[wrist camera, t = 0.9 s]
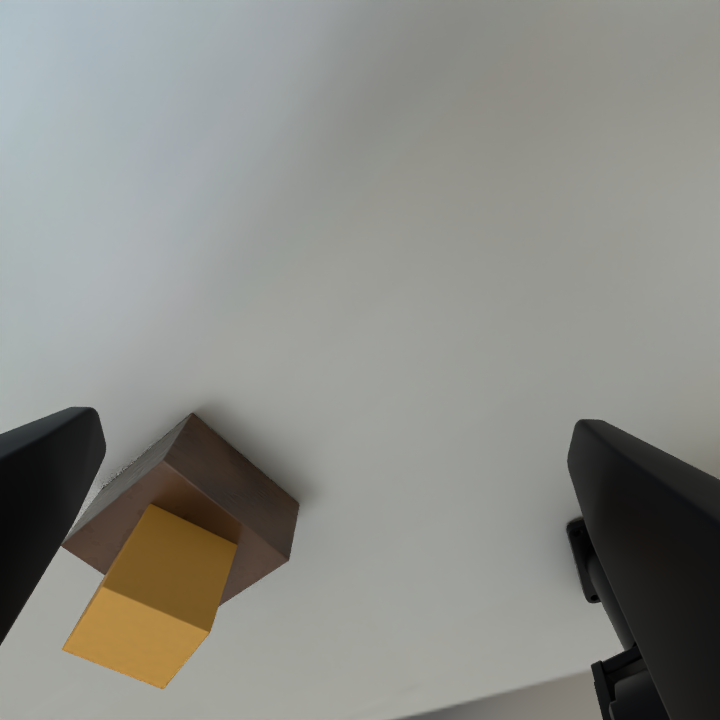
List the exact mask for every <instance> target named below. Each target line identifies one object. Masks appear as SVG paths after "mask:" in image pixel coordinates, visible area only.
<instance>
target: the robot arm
mask: <svg viewBox="0 0 720 720" xmlns="http://www.w3.org/2000/svg"><path fill="white" fill-rule="evenodd" d="M105 453H106V442H105V438H104V434H103V430H102V426H101V422H100V418H99V415H98V412H97V411H96V410H95V409H94V408H91V407H70V408H67V409H64V410H62V411H59V412H57V413H54V414H52V415H49V416H46V417H44V418H41V419H39V420H36V421H33V422H31V423H28V424H26V425H23V426H20V427H18V428H15V429H13V430H10V431H8V432H5V433H2V434H0V645H1V644H2V642H3V640H4V639H5V637H6V635H7V634H8V632H9V630H10V629H11V627H12V625H13V624H14V622H15V620H16V619H17V617H18V615H19V614H20V612H21V610H22V609H23V607H24V605H25V604H26V602H27V600H28V599H29V597H30V595H31V594H32V592H33V590H34V589H35V587H36V585H37V584H38V582H39V580H40V579H41V577H42V575H43V574H44V572H45V570H46V569H47V567H48V565H49V564H50V562H51V561H52V559H53V557H54V556H55V554H56V552H57V551H58V549H59V547H60V546H61V544H62V542H63V541H64V539H65V537H66V535H67V534H68V532H69V530H70V528H71V527H72V525H73V523H74V521H75V519H76V517H77V515H78V513H79V511H80V508H81V506H82V504H83V502H84V500H85V498H86V496H87V493H88V491H89V489H90V487H91V485H92V483H93V481H94V478H95V476H96V474H97V472H98V470H99V468H100V465H101V463H102V461H103V459H104V456H105ZM567 463H568V469H569V473H570V476H571V479H572V482H573V486H574V489H575V492H576V495H577V498H578V502H579V505H580V508H581V511H582V514H583V518H584V520H580V521H576V522H573V523H570V524H569V525H568V526H567V528H566V531H567V534H568V538H569V542H570V545H571V549H572V553H573V556H574V560H575V564H576V567H577V571H578V575H579V578H580V582H581V585H582V589H583V593H584V595H585V598H586V600H587V601H588V602H589V603H598V602H602V604H603V607H604V609H605V611H606V613H607V615H608V617H609V619H610V621H611V623H612V625H613V627H614V629H615V631H616V633H617V636H618V638H619V640H620V642H621V644H622V646H623V648H624V650H625V651H624V652H622V653H620V654H618V655H615V656H613V657H611V658H609V659H607V660H605V661H603V662H602V661H601V660H600V661H598V662H596V663H594V664H592V665H591V668H592V672H593V676H594V680H595V682H594V685H595V689H596V693H597V697H598V701H599V705H600V709H601V713H602V717H603V720H720V480H719V479H717V478H715V477H713V476H711V475H709V474H707V473H705V472H703V471H701V470H699V469H697V468H695V467H693V466H691V465H689V464H687V463H686V462H684V461H682V460H680V459H678V458H676V457H674V456H672V455H670V454H668V453H666V452H664V451H662V450H660V449H658V448H656V447H654V446H652V445H650V444H648V443H646V442H644V441H642V440H640V439H638V438H636V437H634V436H632V435H630V434H628V433H626V432H624V431H623V430H621V429H619V428H617V427H615V426H613V425H611V424H609V423H607V422H605V421H603V420H594V419H581V420H579V421H578V422H577V423H576V425H575V427H574V431H573V436H572V440H571V444H570V448H569V453H568V459H567ZM577 530H578V531H577ZM575 531H576V532H575Z"/></svg>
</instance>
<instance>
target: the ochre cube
mask: <svg viewBox="0 0 720 720" xmlns="http://www.w3.org/2000/svg"><path fill="white" fill-rule="evenodd" d="M236 549H237V545H236V544H234V543H232V542H230V541H228V540H226V539H224V538H222V537H220V536H218V535H215V534H213V533H211V532H209V531H207V530H205V529H203V528H201V527H199V526H197V525H195V524H192V523H190V522H188V521H186V520H184V519H182V518H180V517H178V516H176V515H174V514H172V513H170V512H167V511H165V510H163V509H161V508H159V507H157V506H155V505H153V504H149V506H148V507H147V509H146V510H145V512H144V514H143V515H142V517H141V518H140V520H139V522H138V523H137V525H136V526H135V528H134V529H133V531H132V533H131V534H130V536H129V537H128V539H127V541H126V542H125V544H124V545H123V547H122V549H121V550H120V552H119V553H118V555H117V557H116V558H115V560H114V561H113V563H112V565H111V566H110V568H109V570H108V571H107V573H106V575H105V577H104V578H103V580H102V582H101V583H100V585H99V587H98V588H97V590H96V592H95V594H94V595H93V597H92V599H91V600H90V602H89V604H88V605H87V607H86V609H85V611H84V612H83V614H82V616H81V617H80V619H79V621H78V622H77V624H76V626H75V628H74V629H73V631H72V633H71V634H70V636H69V638H68V639H67V641H66V643H65V644H64V646H63V648H62V650H63V651H66V652H68V653H71V654H74V655H76V656H79V657H81V658H84V659H86V660H89V661H92V662H94V663H97V664H99V665H102V666H104V667H107V668H109V669H112V670H115V671H117V672H120V673H122V674H125V675H127V676H130V677H133V678H135V679H138V680H140V681H143V682H145V683H148V684H151V685H153V686H156V687H158V688H161V689H164V688H165V687H166V685H167V684H168V683H169V682H170V681H171V679H172V678H173V677H174V676H175V674H176V673H177V672H178V671H179V670H180V668H181V667H182V666H183V665H184V664H185V662H186V661H187V660H188V659H189V657H190V656H191V655H192V654H193V653H194V651H195V650H196V649H197V648H198V647H199V645H200V644H201V643H202V642H203V640H204V639H205V638H206V637H207V636H208V634H209V633H210V631H211V628H212V625H213V622H214V618H215V615H216V612H217V609H218V606H219V603H220V599H221V596H222V593H223V590H224V587H225V584H226V580H227V577H228V574H229V571H230V568H231V565H232V561H233V558H234V555H235V552H236Z"/></svg>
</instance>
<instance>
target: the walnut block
mask: <svg viewBox="0 0 720 720" xmlns="http://www.w3.org/2000/svg"><path fill="white" fill-rule="evenodd" d="M149 504H153V505H155V506H157V507H159V508H161V509H163V510H165V511H167V512H170V513H172V514H174V515H176V516H178V517H180V518H182V519H184V520H186V521H188V522H190V523H192V524H195V525H197V526H199V527H201V528H203V529H205V530H207V531H209V532H211V533H213V534H215V535H218V536H220V537H222V538H224V539H226V540H228V541H230V542H232V543H234V544H236V545H237V549H236V552H235V555H234V558H233V561H232V565H231V568H230V571H229V574H228V577H227V580H226V584H225V587H224V590H223V593H222V596H221V599H220V603H219V606H220V605H222V604H223V603H225V602H226V601H228V600H229V599H231V598H232V597H234V596H235V595H237V594H238V593H240V592H242V591H243V590H245V589H246V588H248V587H249V586H251V585H252V584H254V583H255V582H257V581H258V580H260V579H261V578H263V577H264V576H266V575H267V574H269V573H270V572H272V571H274V570H275V569H277V568H278V567H280V566H281V565H283V564H284V563H286V562H287V561H289V558H290V553H291V547H292V542H293V537H294V531H295V526H296V521H297V515H298V510H299V504H298V503H297V502H296V501H295V500H294V499H292V498H291V497H290V496H289V495H288V494H287V493H285V492H284V491H283V490H282V489H281V488H280V487H278V486H277V485H276V484H275V483H274V482H272V481H271V480H270V479H269V478H268V477H267V476H265V475H264V474H263V473H262V472H261V471H260V470H258V469H257V468H256V467H255V466H254V465H253V464H251V463H250V462H249V461H248V460H247V459H245V458H244V457H243V456H242V455H241V454H240V453H238V452H237V451H236V450H235V449H234V448H233V447H231V446H230V445H229V444H228V443H227V442H226V441H224V440H223V439H222V438H221V437H220V436H218V435H217V434H216V433H215V432H214V431H213V430H211V429H210V428H209V427H208V426H207V425H206V424H204V423H203V422H202V421H201V420H200V419H199V418H197V417H196V416H195V415H194V414H190V415H189V416H188V417H187V418H185V419H184V420H183V421H182V422H181V423H180V424H178V425H177V426H176V427H175V428H174V429H173V430H171V431H170V432H169V433H168V434H167V435H165V436H164V437H163V438H162V439H161V440H160V441H158V442H157V443H156V444H155V445H154V446H153V447H151V448H150V449H149V450H148V451H147V452H145V453H144V454H143V455H142V456H141V457H140V458H138V459H137V460H136V461H135V462H134V463H133V464H131V465H130V466H129V467H128V468H127V469H126V470H124V471H123V472H122V473H121V474H120V475H118V476H117V477H116V478H115V479H114V480H113V481H111V482H110V483H109V484H108V485H107V486H106V487H104V488H103V489H102V490H101V491H100V492H99V493H98V495H97V496H96V497H95V499H94V500H93V501H92V503H91V504H90V505H89V507H88V508H87V509H86V511H85V512H84V514H83V515H82V516H81V518H80V519H79V520H78V522H77V523H76V524H75V526H74V527H73V528H72V530H71V531H70V533H69V534H68V535H67V537H66V538H65V539H64V541H63V542H62V544H61V546H62V547H63V548H65V549H66V550H68V551H69V552H71V553H72V554H74V555H75V556H77V557H78V558H80V559H81V560H83V561H84V562H86V563H87V564H89V565H90V566H92V567H93V568H95V569H96V570H98V571H99V572H101V573H102V574H104V575H106V573H107V571H108V570H109V568H110V566H111V565H112V563H113V561H114V560H115V558H116V557H117V555H118V553H119V552H120V550H121V549H122V547H123V545H124V544H125V542H126V541H127V539H128V537H129V536H130V534H131V533H132V531H133V529H134V528H135V526H136V525H137V523H138V522H139V520H140V518H141V517H142V515H143V514H144V512H145V510H146V509H147V507H148V506H149ZM219 606H218V607H219Z"/></svg>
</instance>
